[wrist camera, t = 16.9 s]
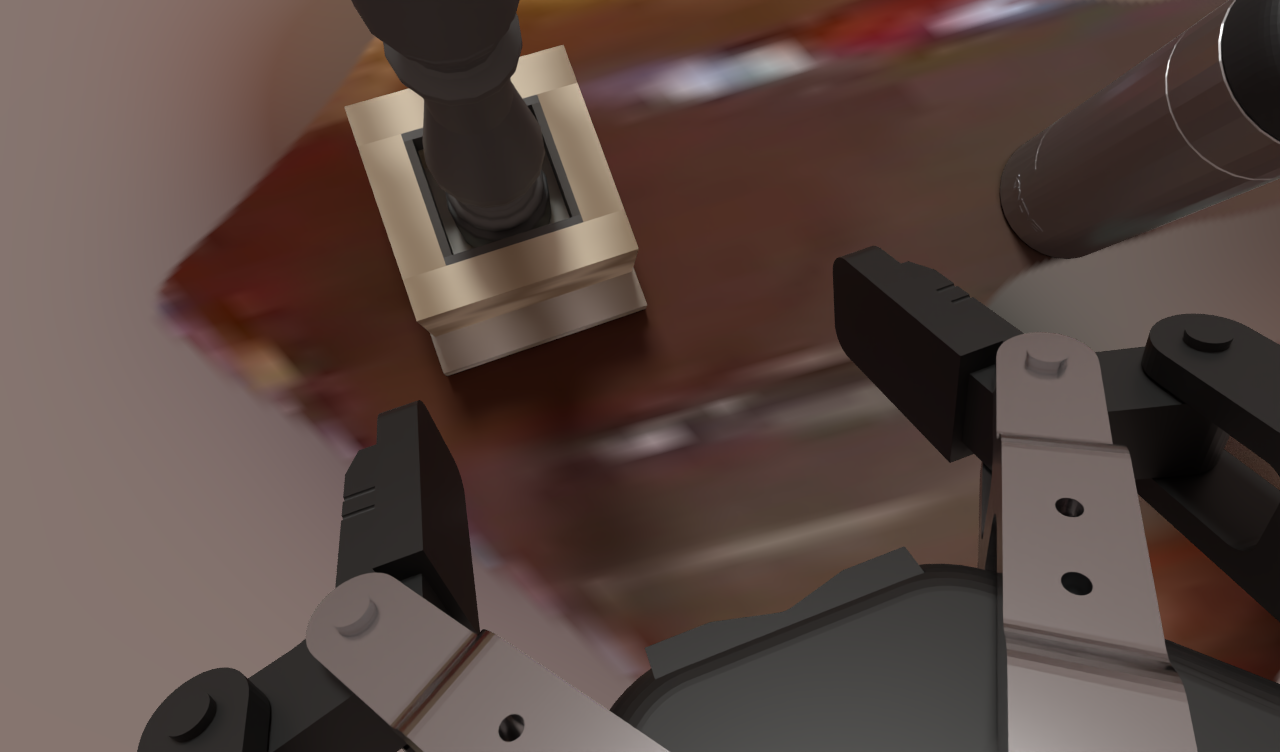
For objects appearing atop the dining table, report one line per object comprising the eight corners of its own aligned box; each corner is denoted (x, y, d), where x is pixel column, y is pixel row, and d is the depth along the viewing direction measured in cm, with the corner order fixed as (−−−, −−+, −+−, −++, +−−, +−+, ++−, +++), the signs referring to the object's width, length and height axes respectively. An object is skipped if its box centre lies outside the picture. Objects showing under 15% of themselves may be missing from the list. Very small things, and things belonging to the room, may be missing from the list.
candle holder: (571, 215, 45) (566, -77, 21) (500, 277, 44) (406, 49, 20) (506, 147, 46) (424, -224, 21) (433, 208, 45) (259, -105, 20)
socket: (556, 65, 48) (553, 8, 42) (645, 308, 46) (656, 286, 40) (361, 121, 46) (328, 70, 40) (447, 376, 45) (427, 362, 38)
